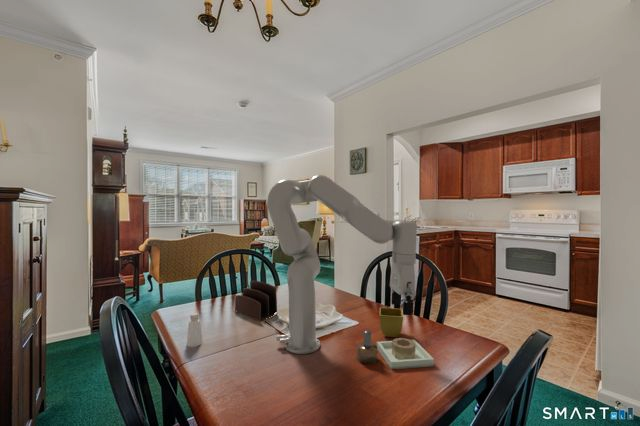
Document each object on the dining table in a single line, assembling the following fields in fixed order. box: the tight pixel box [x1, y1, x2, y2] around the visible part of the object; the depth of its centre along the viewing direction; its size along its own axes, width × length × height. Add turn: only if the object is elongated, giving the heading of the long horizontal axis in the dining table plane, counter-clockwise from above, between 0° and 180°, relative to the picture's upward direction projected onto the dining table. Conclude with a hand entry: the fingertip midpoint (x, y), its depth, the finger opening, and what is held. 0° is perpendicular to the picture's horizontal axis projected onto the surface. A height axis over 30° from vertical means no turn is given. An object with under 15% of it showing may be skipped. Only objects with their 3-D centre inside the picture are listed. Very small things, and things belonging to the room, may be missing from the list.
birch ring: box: [391, 337, 415, 360], centre depth 100 cm, size 7×7×4 cm
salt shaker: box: [186, 312, 203, 348], centre depth 109 cm, size 5×5×11 cm
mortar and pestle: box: [356, 329, 379, 365], centre depth 98 cm, size 7×7×9 cm
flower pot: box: [379, 307, 404, 338], centre depth 117 cm, size 9×9×9 cm
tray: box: [376, 339, 435, 370], centre depth 100 cm, size 14×14×2 cm
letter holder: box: [234, 280, 278, 322], centre depth 140 cm, size 10×20×14 cm, turn 49°
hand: (401, 309), depth 100 cm, fingers open, 9 cm apart
